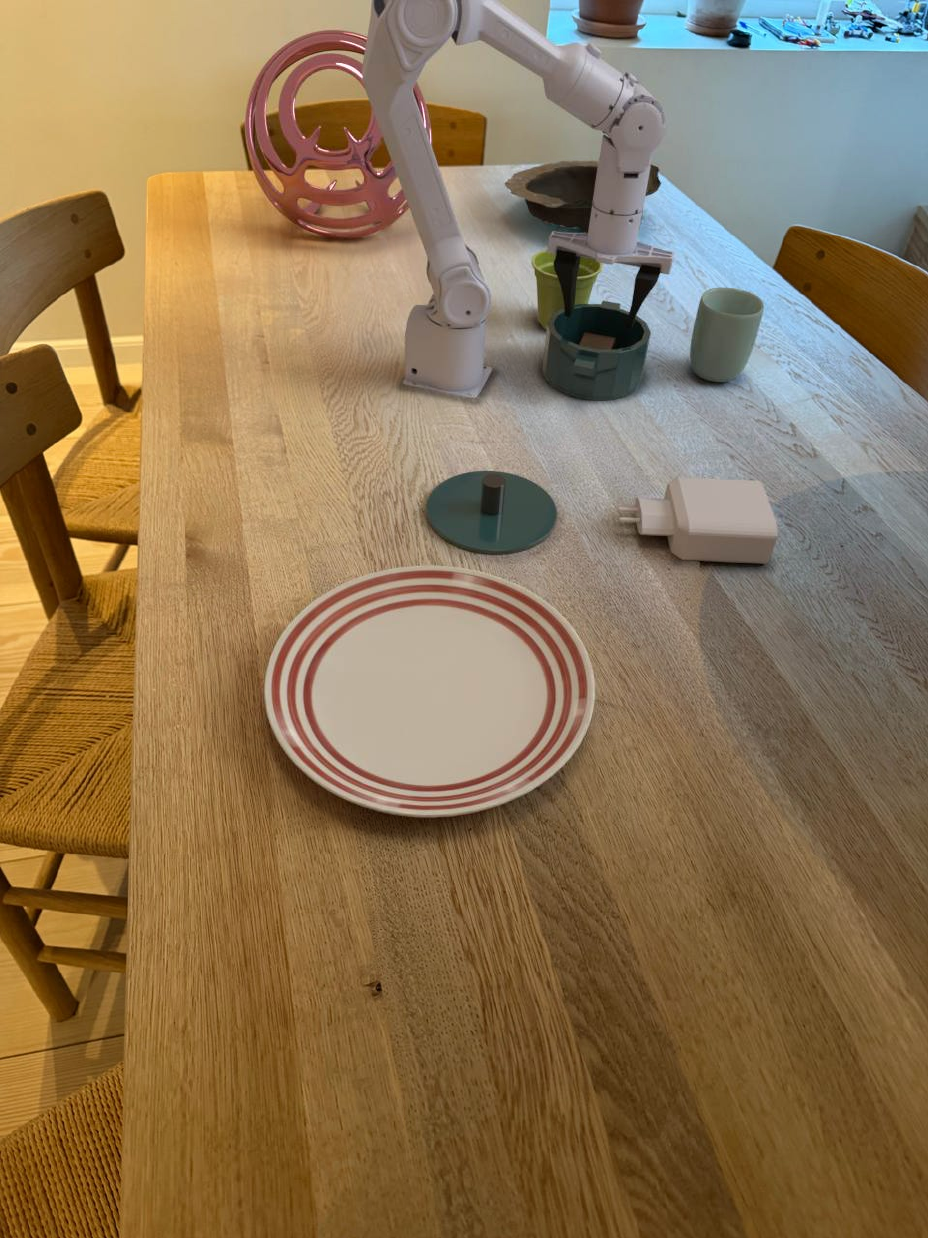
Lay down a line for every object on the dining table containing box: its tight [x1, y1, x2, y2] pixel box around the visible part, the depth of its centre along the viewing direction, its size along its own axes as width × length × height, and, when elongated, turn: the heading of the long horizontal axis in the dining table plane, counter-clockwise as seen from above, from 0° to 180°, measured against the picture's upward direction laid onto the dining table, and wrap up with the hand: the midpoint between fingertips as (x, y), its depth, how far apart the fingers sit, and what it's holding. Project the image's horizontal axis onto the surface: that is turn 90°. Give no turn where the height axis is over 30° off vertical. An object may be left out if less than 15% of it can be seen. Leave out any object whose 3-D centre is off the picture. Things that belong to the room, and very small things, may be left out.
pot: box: [541, 300, 652, 401], centre depth 120 cm, size 13×18×6 cm
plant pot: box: [531, 249, 603, 330], centre depth 129 cm, size 9×9×9 cm
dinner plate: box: [263, 564, 596, 818], centre depth 80 cm, size 27×27×3 cm
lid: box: [425, 470, 558, 555], centre depth 98 cm, size 14×14×5 cm
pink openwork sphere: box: [244, 29, 433, 240], centre depth 144 cm, size 28×28×27 cm
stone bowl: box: [504, 160, 662, 233], centre depth 154 cm, size 25×25×9 cm
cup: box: [689, 287, 765, 383], centre depth 120 cm, size 8×8×10 cm
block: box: [579, 332, 616, 350], centre depth 121 cm, size 4×4×4 cm
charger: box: [616, 476, 779, 565], centre depth 98 cm, size 5×9×15 cm
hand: (599, 318), depth 117 cm, fingers open, 7 cm apart
